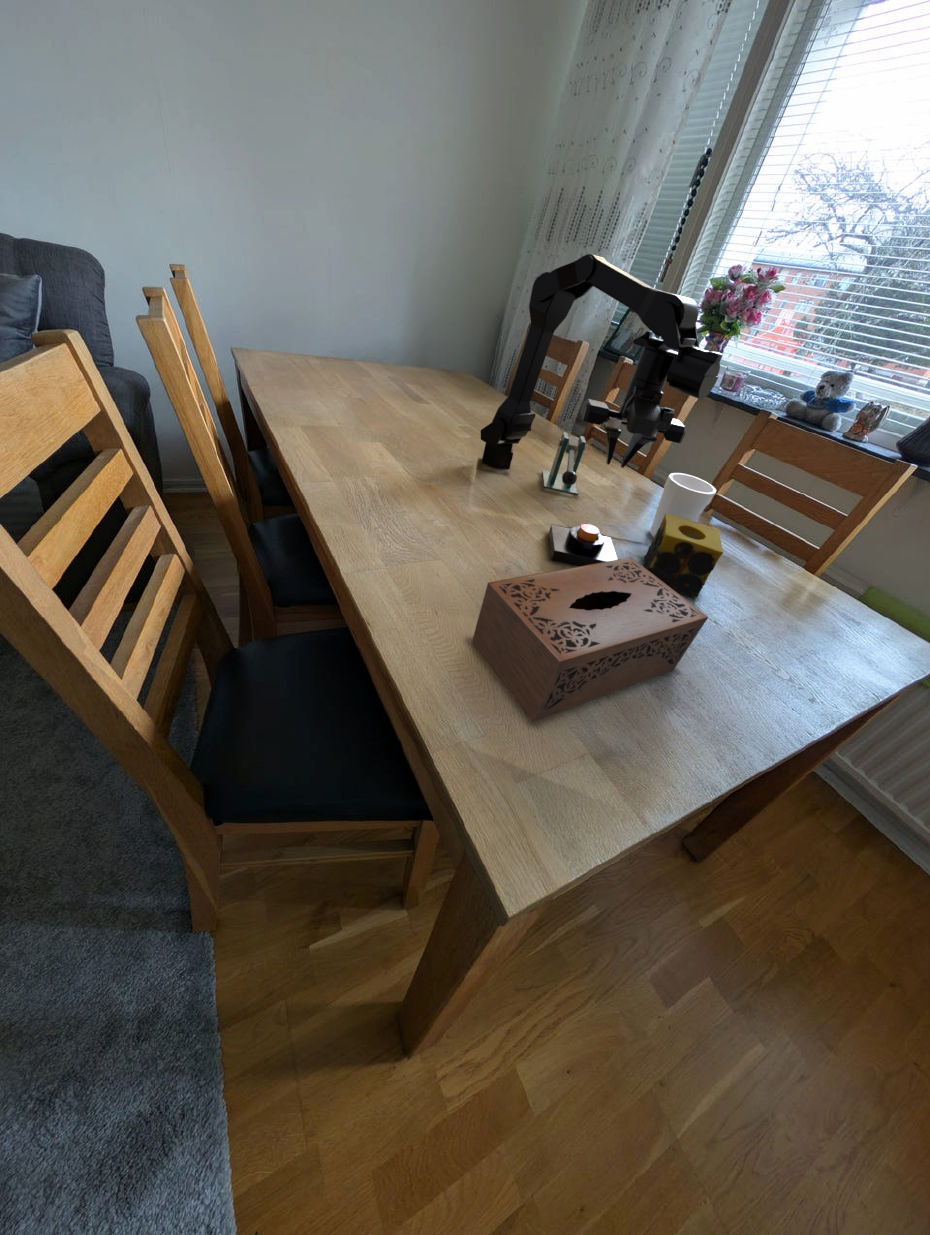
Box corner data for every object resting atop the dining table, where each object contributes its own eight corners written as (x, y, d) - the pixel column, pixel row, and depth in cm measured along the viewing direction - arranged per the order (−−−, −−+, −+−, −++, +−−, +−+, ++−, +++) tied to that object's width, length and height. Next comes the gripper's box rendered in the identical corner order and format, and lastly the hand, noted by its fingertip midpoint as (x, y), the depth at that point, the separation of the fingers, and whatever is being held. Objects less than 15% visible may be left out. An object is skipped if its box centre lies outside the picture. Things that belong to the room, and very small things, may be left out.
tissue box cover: (532, 722, 56) (559, 661, 50) (471, 642, 65) (488, 582, 59) (673, 670, 69) (708, 616, 63) (606, 609, 78) (631, 557, 72)
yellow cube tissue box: (694, 574, 93) (720, 529, 87) (697, 601, 86) (726, 553, 79) (642, 557, 95) (665, 511, 89) (641, 581, 87) (665, 533, 81)
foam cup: (691, 544, 104) (722, 488, 96) (675, 556, 98) (707, 497, 90) (652, 524, 108) (679, 469, 100) (634, 534, 102) (661, 477, 94)
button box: (550, 560, 87) (557, 541, 84) (547, 534, 94) (554, 516, 92) (614, 574, 87) (623, 555, 85) (606, 547, 95) (614, 529, 93)
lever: (573, 490, 105) (578, 480, 102) (559, 487, 105) (564, 476, 102) (576, 447, 111) (581, 436, 108) (563, 444, 111) (567, 433, 108)
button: (578, 539, 87) (581, 531, 86) (576, 530, 90) (579, 522, 89) (597, 543, 87) (600, 535, 86) (594, 534, 90) (598, 526, 89)
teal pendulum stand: (576, 498, 111) (594, 448, 104) (543, 491, 111) (558, 440, 104) (572, 481, 119) (589, 434, 112) (541, 474, 119) (555, 426, 112)
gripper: (604, 378, 78) (572, 470, 87) (714, 404, 79) (670, 492, 88) (595, 364, 86) (567, 449, 96) (694, 388, 87) (656, 469, 97)
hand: (614, 465), depth 94 cm, fingers open, 3 cm apart
